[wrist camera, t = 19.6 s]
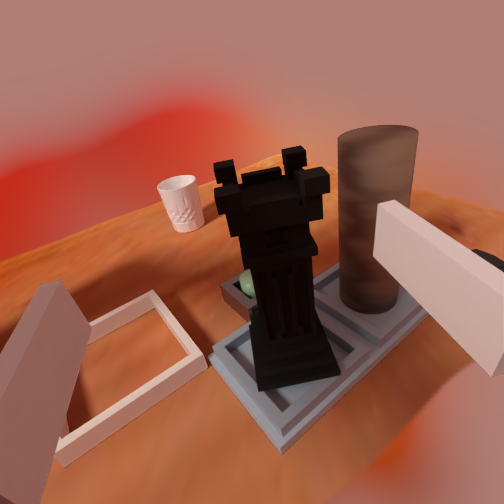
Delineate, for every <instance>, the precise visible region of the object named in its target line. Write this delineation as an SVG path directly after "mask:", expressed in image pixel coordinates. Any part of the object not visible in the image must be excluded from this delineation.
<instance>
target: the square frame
mask: <svg viewBox="0 0 504 504" xmlns="http://www.w3.org/2000/svg"><path fill="white" fill-rule="evenodd" d="M154 308H155V309H156V311H157V312H158V313H159V315H160V316H161V318H162V319H163V320H164V322H165V323H166V325H167V326H168V327H169V329H170V330H171V332H172V333H173V334H174V336H175V337H176V339H177V340H178V341H179V343H180V344H181V346H182V347H183V348H184V350H185V351H186V353H187V354H188V355H189V356H187V357H185V358H184V359H182V360H181V361H179V362H178V363H176V364H175V365H173V366H172V367H170V368H169V369H167V370H166V371H164V372H163V373H161V374H160V375H158V376H157V377H155V378H154V379H152V380H150V381H149V382H147V383H146V384H144V385H143V386H141V387H140V388H138V389H137V390H135V391H134V392H132V393H131V394H129V395H128V396H126V397H125V398H123V399H122V400H120V401H119V402H117V403H116V404H114V405H112V406H111V407H109V408H108V409H106V410H105V411H103V412H102V413H100V414H99V415H97V416H96V417H94V418H93V419H91V420H90V421H88V422H87V423H85V424H84V425H82V426H81V427H79V428H77V429H76V430H74V431H73V432H71V433H70V431H69V426H68V421H67V416H66V417H65V421H64V424H63V427H62V431H61V434H60V438H59V441H58V444H57V448H56V451H55V454H54V458H53V459H55V460H56V461H57V462H58V463H59V464H60V465H61V466H63V467H64V468H65V467H67V466H68V465H70V464H71V463H72V462H74V461H75V460H77V459H78V458H80V457H81V456H82V455H84V454H85V453H87V452H88V451H90V450H91V449H93V448H94V447H95V446H97V445H98V444H100V443H101V442H103V441H104V440H105V439H107V438H108V437H110V436H111V435H113V434H114V433H115V432H117V431H118V430H120V429H121V428H123V427H124V426H125V425H127V424H128V423H130V422H131V421H133V420H134V419H136V418H137V417H138V416H140V415H141V414H143V413H144V412H146V411H147V410H148V409H150V408H151V407H153V406H154V405H156V404H157V403H158V402H160V401H161V400H163V399H164V398H166V397H167V396H168V395H170V394H171V393H173V392H174V391H176V390H177V389H179V388H180V387H181V386H183V385H184V384H186V383H187V382H189V381H190V380H191V379H193V378H194V377H196V376H197V375H199V374H200V373H201V372H203V371H204V370H206V369H207V368H208V365H207V363H206V360H205V358H204V355H203V353H202V352H201V351H200V349H199V348H198V347H197V345H196V344H195V343H194V342H193V340H192V339H191V338H190V336H189V335H188V334H187V333H186V331H185V330H184V329H183V327H182V326H181V325H180V324H179V322H178V321H177V320H176V318H175V317H174V316H173V315H172V313H171V312H170V311H169V309H168V308H167V307H166V306H165V304H164V303H163V302H162V300H161V299H160V298H159V296H158V295H157V294H156V293H155V291H154V290H153V289H152V290H151V291H149V292H147V293H145V294H143V295H141V296H139V297H137V298H135V299H133V300H132V301H130V302H128V303H126V304H124V305H122V306H120V307H118V308H116V309H114V310H113V311H111V312H109V313H107V314H105V315H103V316H101V317H99V318H97V319H95V320H94V321H92V322H90V323H89V324H90V325H91V327H92V330H91V333H90V337H89V340H88V343H87V345H89V344H91V343H93V342H95V341H96V340H98V339H100V338H102V337H104V336H105V335H107V334H109V333H111V332H113V331H114V330H116V329H118V328H120V327H122V326H123V325H125V324H127V323H129V322H131V321H132V320H134V319H136V318H138V317H140V316H141V315H143V314H145V313H147V312H149V311H150V310H152V309H154Z"/></svg>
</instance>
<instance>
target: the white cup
mask: <svg viewBox="0 0 504 504" xmlns="http://www.w3.org/2000/svg"><path fill="white" fill-rule="evenodd" d="M157 189H158V191H159V194H160V196H161V199H162V201H163V204H164V206H165V209H166V211H167V213H168V215H169V217H170V219H171V221H172V224H173V226H174V229H175V230H176V231H177V232H181V233H187V232H192V231H195V230H197V229H199V228H200V227H202V226H203V224H204V223H205V221H204V216H203V212H202V211H203V209H202V204H201V200H200V195H199V191H198V186H197V182H196V178H195V177H194V176H192V175H181V176H176V177H173V178H169V179H167V180H164V181H163V182H161V183H160V184H159V185H158V186H157Z"/></svg>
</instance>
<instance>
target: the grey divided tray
mask: <svg viewBox="0 0 504 504" xmlns="http://www.w3.org/2000/svg"><path fill="white" fill-rule="evenodd" d="M313 285H314V298H315V310H316V312H317V314H318V317H319V319H320V322H321V324H322V326H323V329H324V331H325V334H326V336H327V339H328V341H329V343H330V346H331V348H332V351H333V353H334V356H335V358H336V360H337V363H338V365H339V368H340V370H341V375H340V376H335V377H330V378H325V379H320V380H315V381H310V382H305V383H301V384H296V385H291V386H286V387H281V388H276V389H271V390H266V391H262V392H258V388H257V381H256V374H255V367H254V360H253V353H252V346H251V339H250V331H249V325H251V321H249V322H248V323H246V324H245V325H243V326H242V327H240V328H239V329H237V330H236V331H234V332H233V333H231V334H230V335H228V336H227V337H225V338H224V339H222V340H221V341H219V342H218V343H216V344H215V345H213V346H212V348H213V350H214V352H213V353H211V354H210V355H208V359H209V361H210V363H211V364H212V366H213V367H214V368H215V370H216V371H217V372H218V373H219V375H220V376H221V377H222V379H223V380H224V381H225V382H226V384H227V385H228V386H229V388H230V389H231V390H232V391H233V393H234V394H235V395H236V397H237V398H238V399H239V400H240V402H241V403H242V404H243V406H244V407H245V408H246V409H247V411H248V412H249V413H250V415H251V416H252V417H253V418H254V420H255V421H256V422H257V424H258V425H259V426H260V427H261V429H262V430H263V431H264V433H265V434H266V435H267V436H268V438H269V439H270V440H271V442H272V443H273V444H274V445H275V447H276V448H277V449H278V451H279V452H280V453H281V454H283V453H284V452H285V451H286V450H287V449H288V448H289V447H291V446H292V445H293V444H294V443H295V442H296V441H297V440H298V439H299V438H300V437H301V436H302V435H303V434H304V433H305V432H306V431H307V430H308V429H310V428H311V427H312V426H313V425H314V424H315V423H316V422H317V421H318V420H319V419H320V418H321V417H322V416H323V415H324V414H325V413H326V412H327V411H329V410H330V409H331V408H332V407H333V406H334V405H335V404H336V403H337V402H338V401H339V400H340V399H341V398H342V397H343V396H344V395H345V394H346V393H348V392H349V391H350V390H351V389H352V388H353V387H354V386H355V385H356V384H357V383H358V382H359V381H360V380H361V379H362V378H363V377H364V376H365V375H367V374H368V373H369V372H370V371H371V370H372V369H373V368H374V367H375V366H376V365H377V364H378V363H379V362H380V361H381V360H382V359H383V358H384V357H386V356H387V355H388V354H389V353H390V352H391V351H392V350H393V349H394V348H395V347H396V346H397V345H398V344H399V343H400V342H401V341H402V340H403V339H405V338H406V337H407V336H408V335H409V334H410V333H411V332H412V331H413V330H414V329H415V328H416V327H417V326H418V325H419V324H420V323H421V322H422V321H424V320H425V319H426V318H427V317H428V316H429V315H430V314H429V313H428V312H427V311H426V310H425V309H424V308H423V307H422V306H421V305H420V304H419V303H418V302H417V301H416V300H415V299H414V298H413V297H412V296H411V295H410V294H409V292H408V291H407V290H406V289H405V288H404V287H403V286H402V285H401V284H400V283H399V291H398V298H397V302H396V304H395V306H394V307H393V308H392V309H390V310H389V311H387V312H384V313H381V314H363V313H359V312H356V311H353V310H351V309H350V308H348V307H347V306H346V305H344V303H343V302H342V301H341V299H340V295H339V262H338V263H336V264H335V265H333V266H332V267H330V268H329V269H327V270H326V271H324V272H323V273H321V274H320V275H318V276H317V277H315V278H314V279H313Z"/></svg>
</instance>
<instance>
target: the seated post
mask: <svg viewBox="0 0 504 504" xmlns="http://www.w3.org/2000/svg"><path fill="white" fill-rule="evenodd" d="M418 134H419V132H418V130H416V129H414V128H412V127H407V126H401V125H378V126H369V127H363V128H358V129H354V130H351V131H348V132H345V133H343V134H341V135H340V136H339V137H338V214H339V295H340V299H341V301H342V302H343V303H344V305H346V306H347V307H348V308H350V309H351V310H353V311H356V312H359V313H363V314H381V313H384V312H387V311H389V310H390V309H392V308H393V307H394V306H395V304H396V302H397V298H398V291H399V282H398V281H397V280H396V279H395V278H394V277H393V276H392V275H391V274H390V273H389V272H388V271H387V270H386V269H385V268H384V267H383V266H382V265H381V264H380V263H379V262H378V261H377V260H376V259H375V258H374V257H373V251H374V240H375V229H376V218H377V207H378V204H379V203H383V202H387V201H391V200H396V201H397V202H399V203H400V204H402V205H403V206H405V207H406V208H408V209H409V204H410V196H411V189H412V180H413V173H414V165H415V157H416V149H417V142H418Z"/></svg>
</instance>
